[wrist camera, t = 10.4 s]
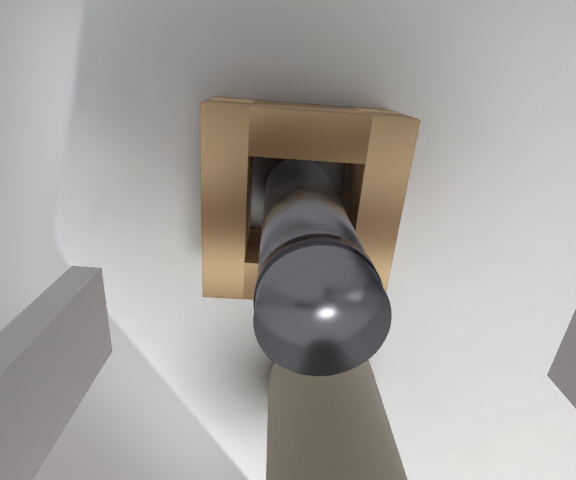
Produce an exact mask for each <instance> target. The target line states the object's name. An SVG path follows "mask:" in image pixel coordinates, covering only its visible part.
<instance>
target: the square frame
mask: <svg viewBox="0 0 576 480" xmlns="http://www.w3.org/2000/svg"><path fill="white" fill-rule="evenodd" d="M419 124H420V119H416V118H413V117H410V116H407V115H404V114H401V113H398V112H394V111H391V110H380V109H367V108H354V107H341V106H328V105H315V104H302V103H288V102H275V101H262V100H249V99H236V98H223V97H215V98H212V99H209V100H207V101H204V102H202V103H200V138H201V212H202V285H203V297H214V298H234V299H254V291H255V282H256V278H257V274H258V265H259V254H260V243H261V233H262V229H255V228H250V222H251V196H252V170H253V157H268V158H282V159H297V160H311V161H326V162H341V163H346V165H345V172H344V180H343V187H342V195H341V204H342V206H343V208H344V210H345V212H346V214H347V216H348V218H349V220H350V222H351V224H352V226H353V228H354V230H355V232H356V234H357V236H358V238H359V240H360V242H361V244H362V246H363V248H364V250H365V252H366V254H367V255H368V256H369V258H370V259H371V261H372V263H373V265H374V266H375V268H376V270H377V272H378V274H379V276H380V278H381V281H382V284H383V288H384V290H385V292H386V290H387V285H388V280H389V275H390V270H391V265H392V260H393V255H394V250H395V245H396V240H397V235H398V229H399V224H400V219H401V214H402V209H403V204H404V199H405V194H406V189H407V184H408V179H409V174H410V169H411V164H412V159H413V154H414V149H415V144H416V139H417V134H418V129H419Z"/></svg>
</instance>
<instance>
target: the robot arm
mask: <svg viewBox="0 0 576 480" xmlns="http://www.w3.org/2000/svg"><path fill="white" fill-rule="evenodd" d="M111 352H112V346H111V338H110V330H109V323H108V315H107V307H106V300H105V292H104V284H103V277H102V269H101V268H95V267H79V266H72V267H71V268H69V269H68V270H67V271H66V272H65V273H64V274H63V275H62V276H61V277H60V278H58V279H57V280H56V281H55V282H54V283H53V284H52V285H51V286H50V287H49V288H47V289H46V290H45V291H44V292H43V293H42V294H41V295H40V296H39V297H38V298H36V299H35V300H34V301H33V302H32V303H31V304H30V305H29V306H28V307H27V308H25V309H24V310H23V311H22V312H21V313H20V314H19V315H18V316H17V317H16V318H14V319H13V320H12V321H11V322H10V323H9V324H8V325H7V326H6V327H5V328H3V329H2V330H1V331H0V480H32V479H33V478H34V476H35V474H36V473H37V471H38V470H39V468H40V466H41V465H42V463H43V461H44V460H45V458H46V457H47V455H48V453H49V452H50V450H51V449H52V447H53V445H54V444H55V442H56V441H57V439H58V437H59V436H60V434H61V433H62V431H63V429H64V428H65V426H66V425H67V423H68V421H69V420H70V418H71V417H72V415H73V413H74V412H75V410H76V409H77V407H78V405H79V404H80V402H81V400H82V399H83V397H84V396H85V394H86V392H87V391H88V389H89V387H90V386H91V384H92V383H93V381H94V379H95V378H96V376H97V375H98V373H99V372H100V370H101V368H102V367H103V365H104V363H105V362H106V360H107V359H108V357H109V355H110V354H111ZM547 376H548V377H549V378H550V379H551V380H552V381H553V382H554V384H555V385H556V386H557V387H558V388H559V389H560V391H561V392H562V393H563V394H564V395H565V396H566V398H567V399H568V400H569V401H570V402H571V403H572V405H573V406H574V407H575V408H576V310H575V312H574V314H573V317H572V319H571V321H570V324H569V326H568V328H567V331H566V333H565V335H564V338H563V340H562V342H561V345H560V347H559V349H558V351H557V354H556V356H555V358H554V361H553V363H552V365H551V368H550V370H549V372H548V375H547Z"/></svg>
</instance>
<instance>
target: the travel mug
mask: <svg viewBox="0 0 576 480" xmlns="http://www.w3.org/2000/svg"><path fill="white" fill-rule="evenodd" d="M266 480H407V477H406V474H405V471H404V468H403V465H402V461H401V458H400V455H399V452H398V449H397V446H396V443H395V440H394V437H393V434H392V430H391V427H390V424H389V421H388V418H387V415H386V412H385V409H384V406H383V403H382V400H381V396H380V393H379V390H378V387H377V384H376V381H375V378H374V375H373V372H372V369H371V366H370V363H369V361H368V360H367V361H366V362H364V363H363V364H361V365H359V366H358V367H356V368H354V369H351V370H349V371H346V372H343V373H340V374H336V375H330V376H307V375H302V374H298V373H295V372H291V371H289V370H287V369H285V368H283V367H281V366H279V365H278V364H276V363H274V365H273V366H272V369H271V371H270V374H269V387H268V428H267V468H266Z"/></svg>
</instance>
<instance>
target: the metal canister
mask: <svg viewBox="0 0 576 480" xmlns="http://www.w3.org/2000/svg"><path fill="white" fill-rule="evenodd" d="M253 322H254V331H255V335H256V338H257V341H258V343H259V345H260V347H261V348H262V350H263V351H264V352H265V354H266V355H267V356H268V357H269V358H270V359H271V360H272V361H274V362H275V363H276V364H278V365H279V366H281V367H283V368H285V369H287V370H289V371H291V372H295V373H298V374H302V375H307V376H330V375H336V374H340V373H343V372H346V371H349V370H351V369H354V368H356V367H358V366H359V365H361V364H363V363H364V362H366V361H367V360H368V359H370V358H371V357H372V356H373V355H374V354H375V353H376V352H377V351H378V349H379V348H380V347H381V346H382V344H383V342H384V341H385V339H386V337H387V334H388V332H389V329H390V325H391V306H390V302H389V299H388V296H387V294H386V292H385V290H384V288H383V284H382V281H381V278H380V276H379V274H378V272H377V270H376V268H375V266H374V265H373V263H372V261H371V259H370V258H369V256H368V255H367V254H366V252H365V250H364V248H363V246H362V244H361V242H360V240H359V238H358V236H357V234H356V232H355V230H354V228H353V226H352V224H351V222H350V220H349V218H348V216H347V214H346V212H345V210H344V208H343V206H342V204H341V202H340V200H339V198H338V196H337V194H336V192H335V190H334V188H333V186H332V184H331V182H330V180H329V178H328V176H327V174H326V172H325V171H324V170H323V168H322V167H321V166H320V165H318V164H317V163H316V162H314V161H311V160H297V159H287V160H285V161H283V162H281V163H279V164H278V165H277V166H276V167H275V168H274V169H273V170H272V171H271V173H270V175H269V177H268V179H267V182H266V190H265V200H264V211H263V222H262V233H261V243H260V254H259V265H258V274H257V278H256V282H255V291H254V318H253Z"/></svg>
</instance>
